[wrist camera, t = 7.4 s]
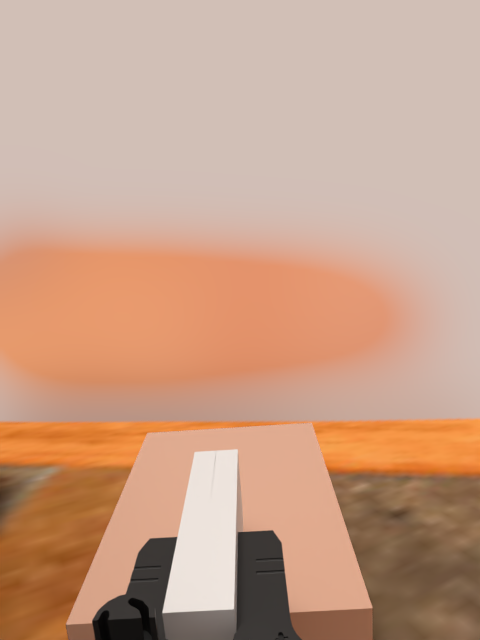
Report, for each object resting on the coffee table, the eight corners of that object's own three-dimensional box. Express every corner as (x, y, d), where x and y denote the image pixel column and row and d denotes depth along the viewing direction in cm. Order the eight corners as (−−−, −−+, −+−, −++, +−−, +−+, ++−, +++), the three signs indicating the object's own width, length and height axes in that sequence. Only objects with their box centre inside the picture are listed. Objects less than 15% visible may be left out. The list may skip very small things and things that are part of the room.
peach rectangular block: (85, 728, 14) (155, 497, 26) (373, 714, 14) (314, 488, 26) (65, 624, 14) (147, 432, 25) (372, 608, 13) (311, 422, 25)
